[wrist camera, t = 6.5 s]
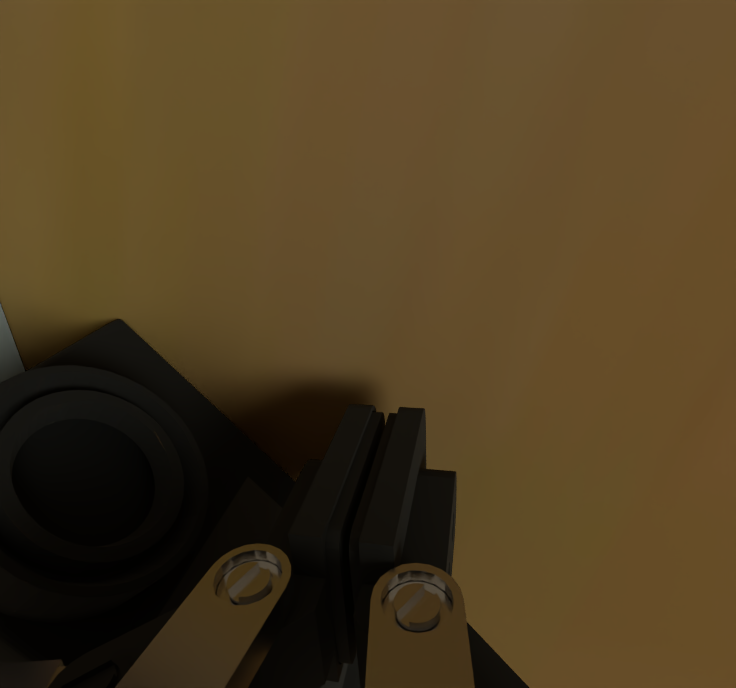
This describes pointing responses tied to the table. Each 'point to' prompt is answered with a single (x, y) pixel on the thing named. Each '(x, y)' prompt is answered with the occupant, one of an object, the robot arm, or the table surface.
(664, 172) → the table surface
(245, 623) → the robot arm
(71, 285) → the table surface
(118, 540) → the digital camera
